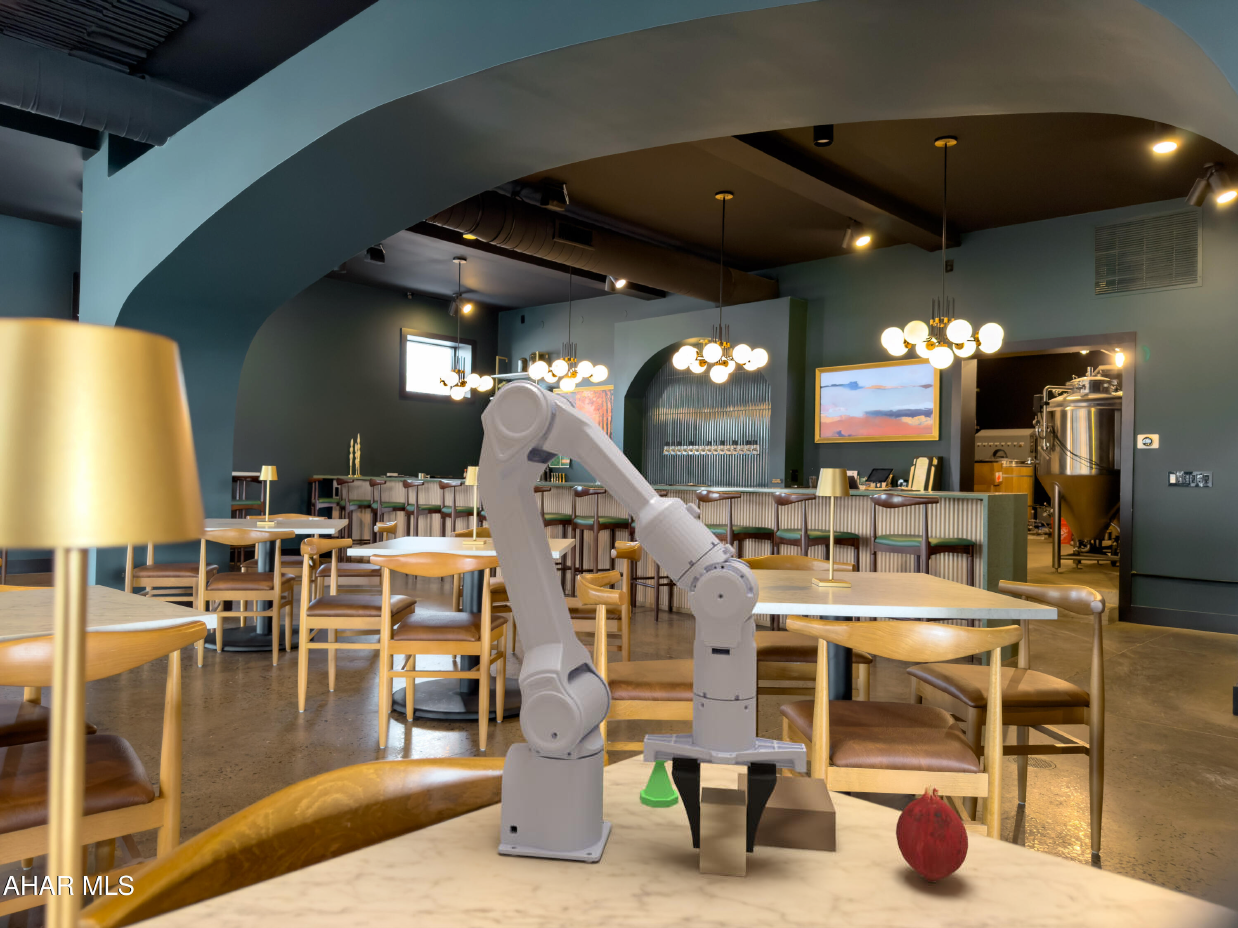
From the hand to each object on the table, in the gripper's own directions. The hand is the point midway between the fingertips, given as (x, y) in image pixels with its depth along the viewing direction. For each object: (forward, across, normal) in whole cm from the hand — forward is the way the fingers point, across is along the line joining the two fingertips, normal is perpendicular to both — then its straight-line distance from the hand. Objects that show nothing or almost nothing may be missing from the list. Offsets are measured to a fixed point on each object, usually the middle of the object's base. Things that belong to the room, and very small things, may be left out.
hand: (722, 845), depth 69 cm
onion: (+2, +18, 0) cm, 18 cm away
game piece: (+2, -7, +14) cm, 16 cm away
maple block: (+2, 0, 0) cm, 2 cm away
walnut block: (+2, +6, +9) cm, 11 cm away
